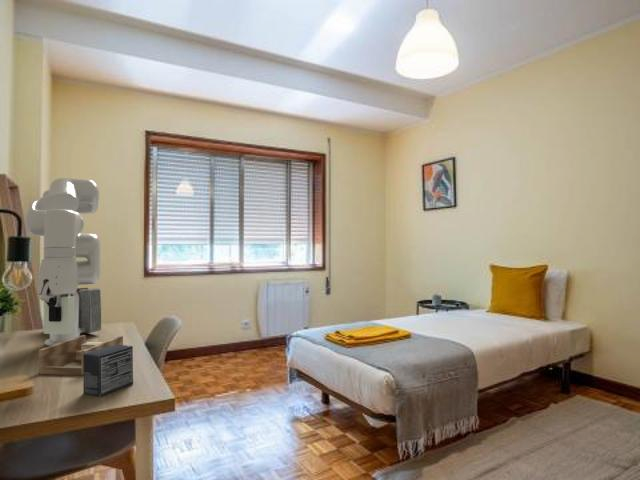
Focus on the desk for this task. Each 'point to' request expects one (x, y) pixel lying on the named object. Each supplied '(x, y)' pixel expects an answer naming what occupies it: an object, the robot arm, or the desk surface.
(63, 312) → the white box
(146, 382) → the desk surface
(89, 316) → the decorative stone tablet
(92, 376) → the small box
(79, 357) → the offcut
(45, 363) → the rack
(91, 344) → the offcut
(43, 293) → the robot arm
